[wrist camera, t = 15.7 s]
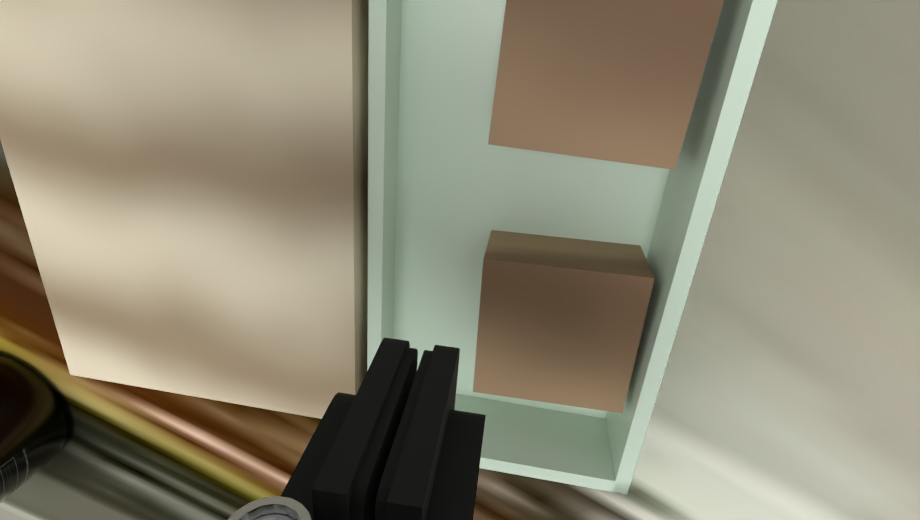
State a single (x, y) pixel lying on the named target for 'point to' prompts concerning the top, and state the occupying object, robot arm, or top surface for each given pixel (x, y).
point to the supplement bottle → (26, 425)
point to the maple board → (197, 190)
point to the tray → (528, 217)
